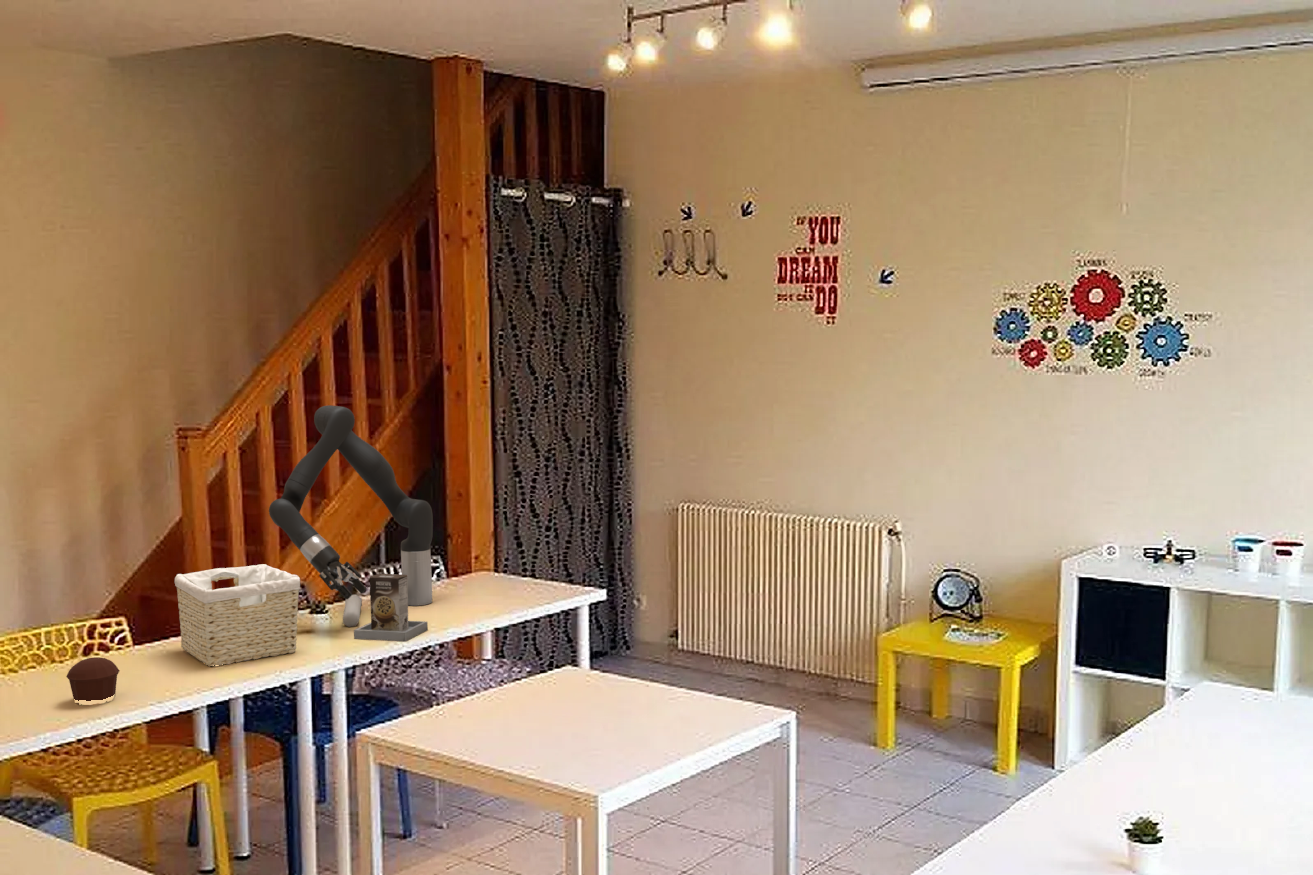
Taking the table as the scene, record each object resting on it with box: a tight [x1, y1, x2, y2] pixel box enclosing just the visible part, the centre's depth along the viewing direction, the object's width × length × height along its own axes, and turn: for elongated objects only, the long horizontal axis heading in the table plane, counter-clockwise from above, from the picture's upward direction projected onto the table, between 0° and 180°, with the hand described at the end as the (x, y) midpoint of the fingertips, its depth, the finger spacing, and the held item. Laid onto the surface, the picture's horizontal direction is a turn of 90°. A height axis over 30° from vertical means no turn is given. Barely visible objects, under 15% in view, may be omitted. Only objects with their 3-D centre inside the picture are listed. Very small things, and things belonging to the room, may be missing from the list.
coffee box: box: [369, 573, 409, 632], centre depth 375 cm, size 9×6×16 cm
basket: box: [174, 563, 301, 667], centre depth 357 cm, size 27×27×22 cm
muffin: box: [65, 656, 121, 701], centre depth 313 cm, size 12×11×10 cm
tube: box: [342, 594, 363, 628], centre depth 397 cm, size 5×5×25 cm
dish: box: [353, 620, 429, 642], centre depth 375 cm, size 14×16×2 cm
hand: (357, 594), depth 377 cm, fingers open, 8 cm apart
